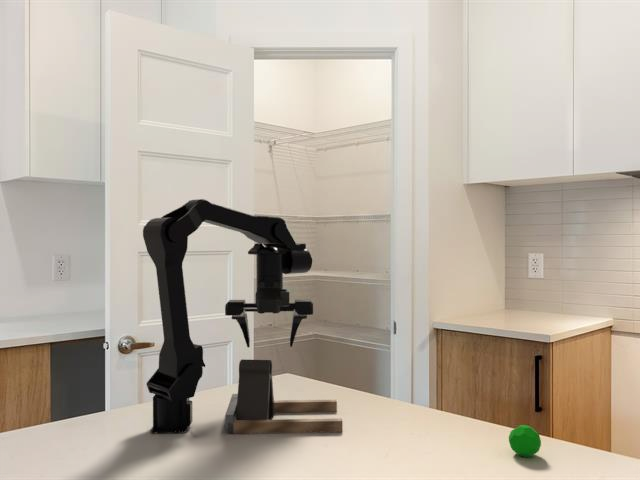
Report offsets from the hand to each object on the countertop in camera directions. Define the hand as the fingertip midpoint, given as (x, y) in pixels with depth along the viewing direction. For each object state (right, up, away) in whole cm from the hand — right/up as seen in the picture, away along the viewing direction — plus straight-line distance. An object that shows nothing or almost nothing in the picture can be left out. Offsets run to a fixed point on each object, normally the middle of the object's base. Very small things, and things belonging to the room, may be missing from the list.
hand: (269, 346), depth 127 cm
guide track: (+4, -12, -13) cm, 18 cm away
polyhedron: (+45, -13, -31) cm, 56 cm away
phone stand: (-2, -12, -13) cm, 18 cm away
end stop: (-6, -12, -13) cm, 19 cm away
